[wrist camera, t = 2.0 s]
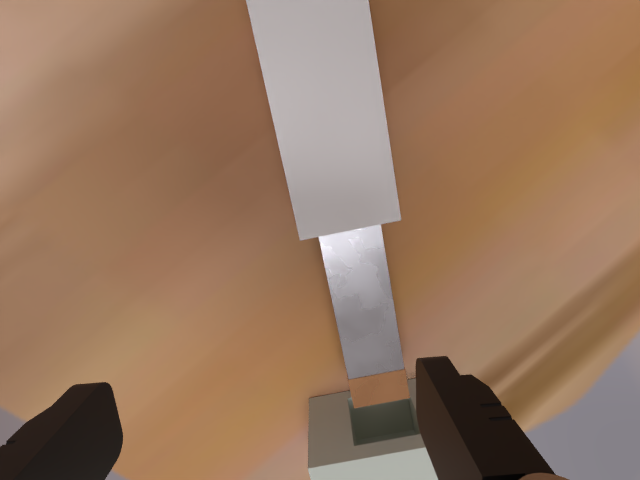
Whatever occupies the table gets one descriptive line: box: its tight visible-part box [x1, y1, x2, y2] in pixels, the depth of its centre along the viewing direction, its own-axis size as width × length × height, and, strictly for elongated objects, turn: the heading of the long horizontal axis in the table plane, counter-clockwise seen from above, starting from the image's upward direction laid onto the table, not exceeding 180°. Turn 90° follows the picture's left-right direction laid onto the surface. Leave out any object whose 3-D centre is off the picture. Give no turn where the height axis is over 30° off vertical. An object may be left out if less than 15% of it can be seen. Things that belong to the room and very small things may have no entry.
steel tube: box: [319, 224, 410, 408], centre depth 25 cm, size 4×26×4 cm, turn 11°
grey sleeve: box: [246, 0, 401, 241], centre depth 23 cm, size 6×16×7 cm, turn 12°
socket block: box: [308, 378, 438, 480], centre depth 29 cm, size 12×6×7 cm, turn 101°
